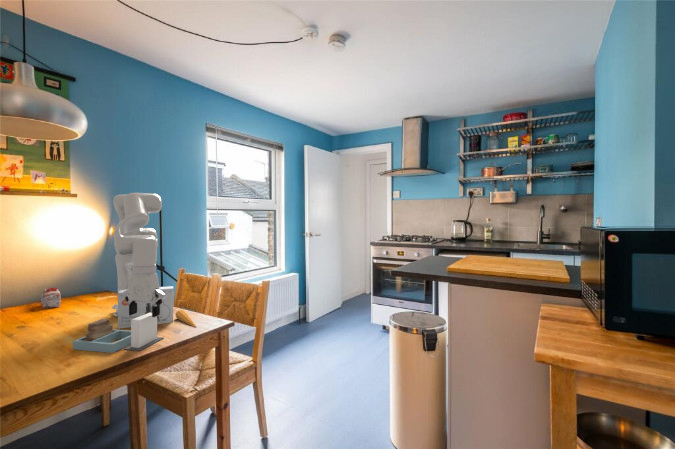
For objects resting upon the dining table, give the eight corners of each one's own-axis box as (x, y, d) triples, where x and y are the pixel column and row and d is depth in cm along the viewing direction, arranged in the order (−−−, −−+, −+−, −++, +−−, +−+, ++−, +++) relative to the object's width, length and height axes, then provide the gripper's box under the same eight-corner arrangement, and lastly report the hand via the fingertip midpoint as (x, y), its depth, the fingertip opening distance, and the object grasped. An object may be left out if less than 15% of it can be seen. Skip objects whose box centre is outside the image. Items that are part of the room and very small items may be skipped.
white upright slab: (131, 347, 114) (131, 319, 114) (149, 338, 123) (149, 312, 123) (138, 347, 114) (138, 320, 114) (157, 338, 123) (157, 313, 122)
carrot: (176, 319, 149) (172, 312, 148) (185, 314, 152) (182, 306, 151) (193, 334, 136) (189, 326, 134) (203, 328, 139) (199, 320, 137)
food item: (62, 307, 166) (62, 288, 166) (41, 310, 160) (41, 291, 160) (59, 302, 176) (59, 284, 175) (40, 305, 170) (39, 287, 170)
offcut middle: (86, 339, 115) (85, 331, 115) (103, 332, 123) (103, 324, 123) (96, 340, 115) (96, 331, 115) (112, 332, 122) (112, 325, 122)
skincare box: (117, 329, 134) (117, 292, 133) (119, 325, 138) (119, 289, 138) (173, 322, 143) (173, 287, 143) (173, 319, 148) (173, 285, 148)
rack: (72, 349, 113) (72, 341, 113) (105, 336, 126) (105, 328, 126) (112, 352, 110) (112, 344, 110) (141, 339, 123) (141, 331, 123)
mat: (123, 349, 113) (123, 348, 113) (149, 337, 125) (149, 336, 125) (139, 351, 112) (139, 350, 112) (163, 338, 124) (163, 337, 124)
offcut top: (88, 330, 116) (87, 324, 116) (101, 325, 122) (101, 318, 122) (96, 331, 116) (96, 324, 116) (110, 325, 122) (110, 319, 122)
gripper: (115, 270, 116) (115, 316, 116) (157, 273, 113) (157, 320, 114) (132, 267, 123) (132, 310, 124) (172, 269, 120) (171, 313, 121)
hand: (144, 315), depth 119 cm, fingers open, 9 cm apart
